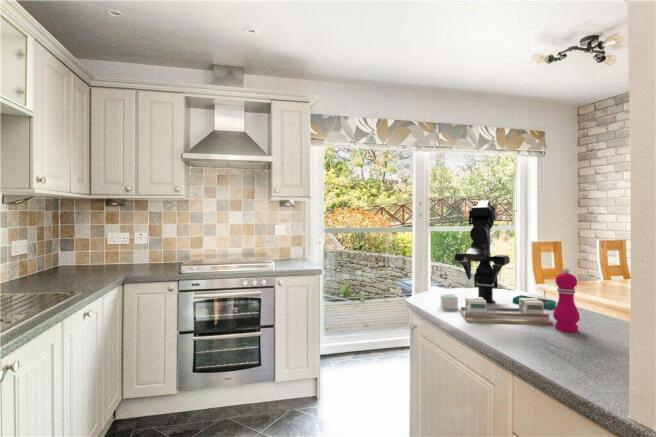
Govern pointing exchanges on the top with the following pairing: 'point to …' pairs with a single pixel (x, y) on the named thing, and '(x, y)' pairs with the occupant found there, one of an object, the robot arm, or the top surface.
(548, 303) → the digital multimeter
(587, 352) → the top surface
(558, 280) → the pepper mill
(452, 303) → the block
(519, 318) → the rail panel
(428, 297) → the top surface
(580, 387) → the top surface
